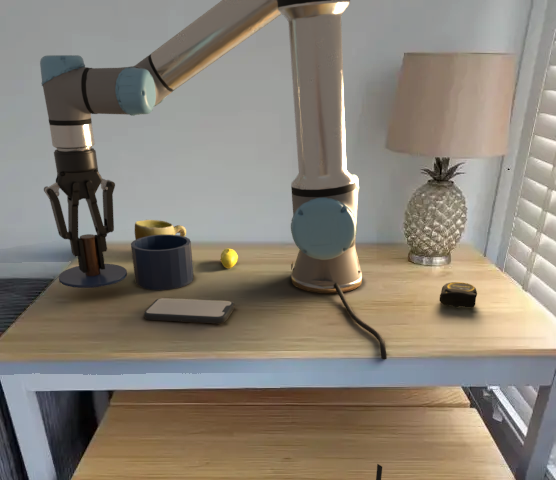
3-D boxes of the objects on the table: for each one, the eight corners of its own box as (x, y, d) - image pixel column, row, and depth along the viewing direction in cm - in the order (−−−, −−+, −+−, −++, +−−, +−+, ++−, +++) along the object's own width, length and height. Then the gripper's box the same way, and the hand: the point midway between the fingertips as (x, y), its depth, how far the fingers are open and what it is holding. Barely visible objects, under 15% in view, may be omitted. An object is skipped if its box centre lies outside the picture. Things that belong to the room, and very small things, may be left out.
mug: (126, 256, 144) (133, 213, 143) (134, 256, 154) (140, 217, 153) (178, 265, 145) (185, 223, 144) (182, 265, 155) (189, 226, 154)
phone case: (142, 321, 116) (224, 325, 113) (141, 313, 115) (223, 317, 112) (159, 304, 123) (236, 308, 120) (158, 296, 123) (235, 300, 120)
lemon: (218, 270, 141) (217, 254, 139) (222, 259, 148) (221, 244, 146) (236, 270, 141) (236, 254, 139) (239, 260, 148) (239, 244, 146)
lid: (137, 282, 124) (132, 239, 120) (70, 295, 118) (62, 250, 113) (114, 264, 134) (108, 224, 130) (51, 276, 128) (43, 233, 124)
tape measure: (437, 308, 120) (439, 290, 118) (442, 296, 125) (444, 279, 124) (473, 313, 118) (476, 295, 116) (476, 300, 123) (479, 283, 122)
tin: (203, 282, 134) (200, 244, 130) (149, 294, 128) (144, 254, 124) (178, 267, 143) (175, 231, 139) (127, 277, 137) (122, 240, 133)
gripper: (109, 142, 121) (123, 257, 132) (24, 149, 113) (47, 271, 124) (122, 147, 115) (136, 267, 126) (35, 154, 107) (57, 281, 118)
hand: (92, 268), depth 125 cm, fingers closed on lid, 3 cm apart
